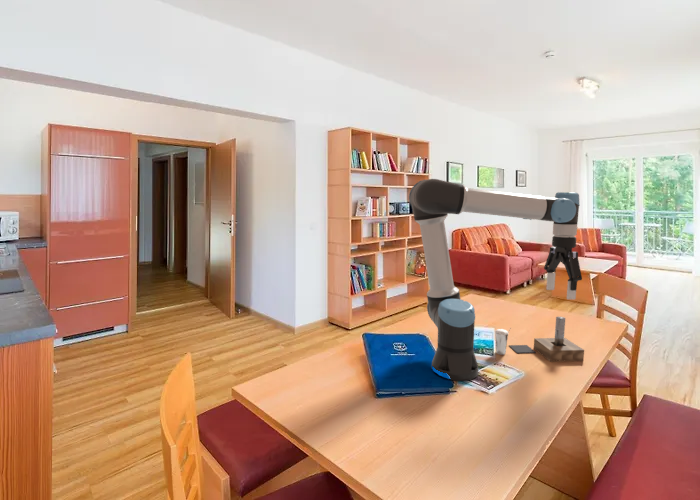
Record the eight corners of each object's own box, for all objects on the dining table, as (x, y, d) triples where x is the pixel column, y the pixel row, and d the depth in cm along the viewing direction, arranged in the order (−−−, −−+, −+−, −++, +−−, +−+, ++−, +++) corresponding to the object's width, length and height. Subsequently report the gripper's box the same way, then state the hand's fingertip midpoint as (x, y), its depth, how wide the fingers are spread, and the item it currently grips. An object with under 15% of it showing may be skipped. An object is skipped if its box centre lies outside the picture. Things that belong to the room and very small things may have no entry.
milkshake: (510, 356, 145) (512, 329, 144) (495, 355, 146) (496, 329, 145) (508, 351, 150) (509, 325, 148) (493, 350, 151) (494, 325, 149)
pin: (556, 356, 145) (558, 319, 143) (552, 352, 148) (554, 316, 146) (564, 355, 145) (567, 319, 143) (559, 352, 148) (562, 316, 146)
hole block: (550, 361, 140) (550, 350, 140) (533, 348, 152) (534, 338, 152) (583, 360, 141) (584, 349, 140) (564, 347, 153) (565, 337, 152)
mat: (517, 353, 148) (517, 352, 148) (509, 346, 155) (509, 345, 155) (535, 353, 148) (535, 352, 148) (526, 345, 155) (526, 344, 155)
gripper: (597, 239, 128) (592, 303, 131) (555, 232, 153) (552, 286, 156) (574, 240, 128) (569, 303, 131) (536, 232, 153) (533, 286, 156)
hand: (560, 294), depth 144 cm, fingers open, 13 cm apart
